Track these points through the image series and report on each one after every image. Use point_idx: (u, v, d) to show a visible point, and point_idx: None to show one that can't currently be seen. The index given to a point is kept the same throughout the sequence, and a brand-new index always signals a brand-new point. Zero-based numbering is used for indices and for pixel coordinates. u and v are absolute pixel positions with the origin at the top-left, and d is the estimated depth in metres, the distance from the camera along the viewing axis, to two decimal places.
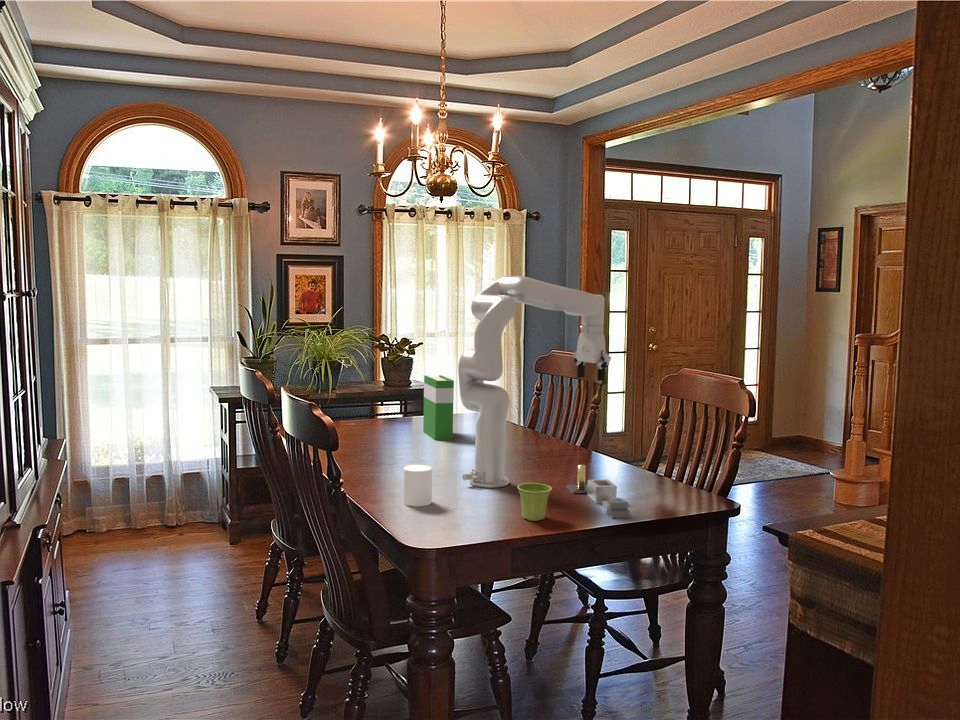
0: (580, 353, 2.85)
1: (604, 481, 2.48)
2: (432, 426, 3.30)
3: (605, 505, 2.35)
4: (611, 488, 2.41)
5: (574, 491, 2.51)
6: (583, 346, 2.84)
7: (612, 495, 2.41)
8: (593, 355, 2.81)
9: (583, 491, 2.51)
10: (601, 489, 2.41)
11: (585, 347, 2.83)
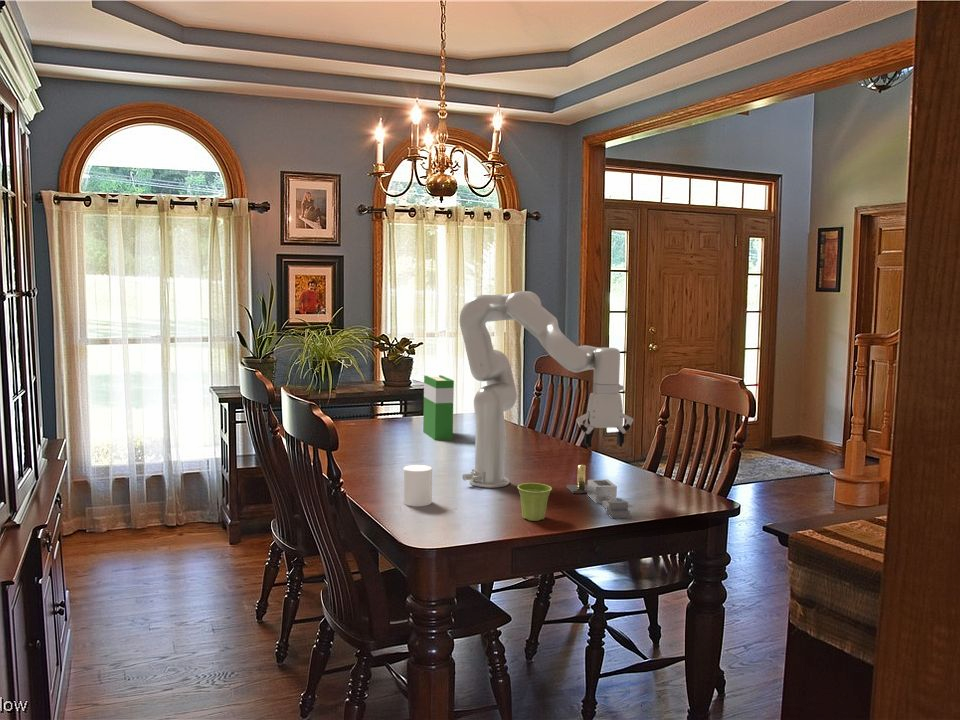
0: None
1: (604, 481, 2.48)
2: (432, 426, 3.30)
3: (605, 505, 2.35)
4: (611, 488, 2.41)
5: (574, 491, 2.51)
6: None
7: (612, 495, 2.41)
8: None
9: (583, 491, 2.51)
10: (601, 489, 2.41)
11: None
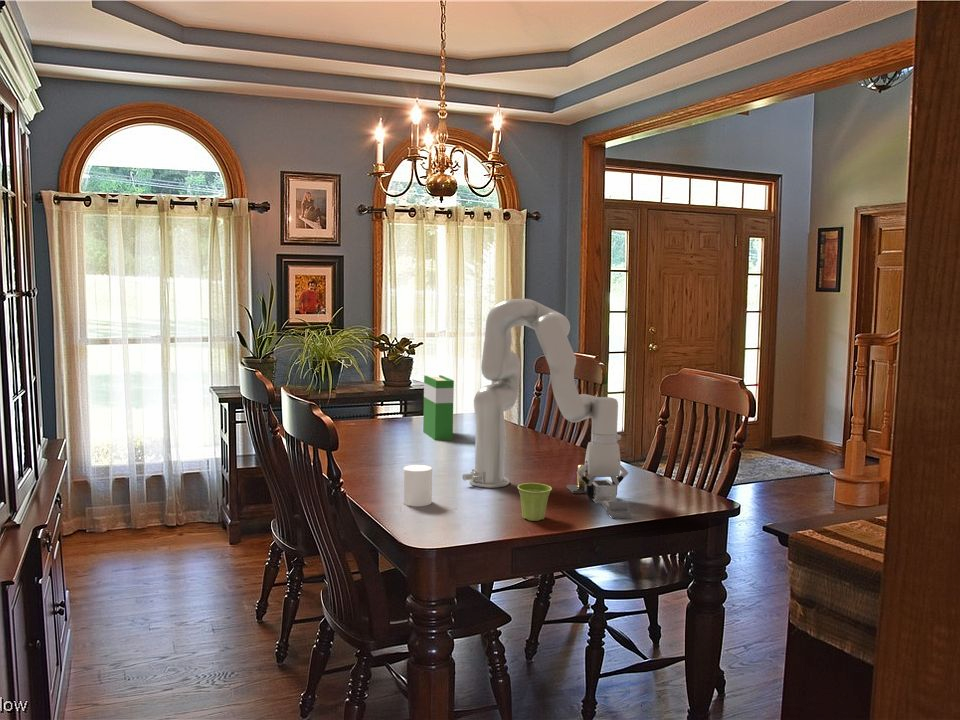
0: None
1: (604, 481, 2.48)
2: (432, 426, 3.30)
3: (605, 505, 2.35)
4: (611, 488, 2.41)
5: (574, 491, 2.51)
6: None
7: (612, 495, 2.41)
8: None
9: (583, 491, 2.51)
10: (601, 489, 2.41)
11: None
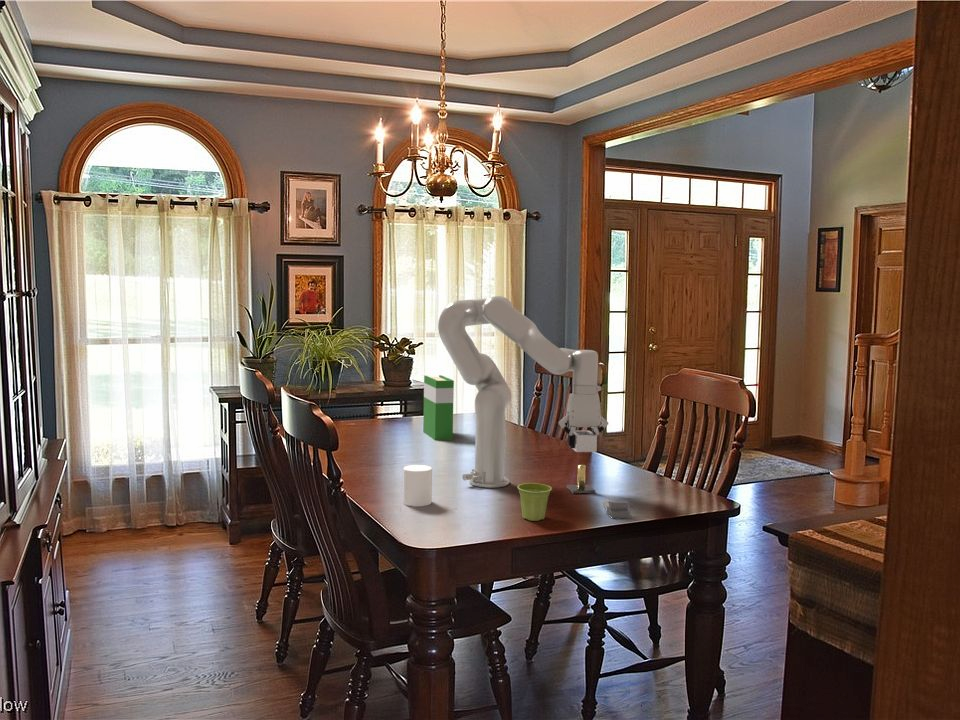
0: None
1: (585, 432, 2.56)
2: (432, 426, 3.30)
3: (605, 505, 2.35)
4: (591, 437, 2.49)
5: (574, 491, 2.51)
6: None
7: (592, 444, 2.49)
8: None
9: (583, 491, 2.51)
10: (582, 438, 2.49)
11: None
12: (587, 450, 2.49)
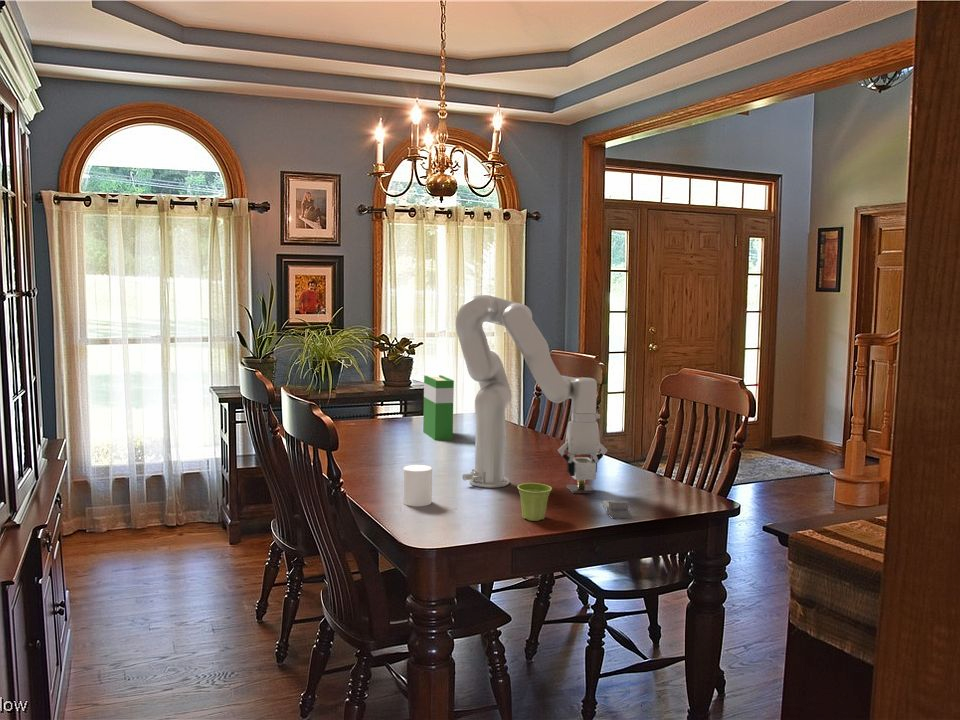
0: None
1: (584, 459, 2.57)
2: (432, 426, 3.30)
3: (605, 505, 2.35)
4: (591, 465, 2.50)
5: (574, 491, 2.51)
6: None
7: (591, 472, 2.50)
8: None
9: (583, 491, 2.51)
10: (581, 466, 2.49)
11: None
12: (586, 478, 2.50)
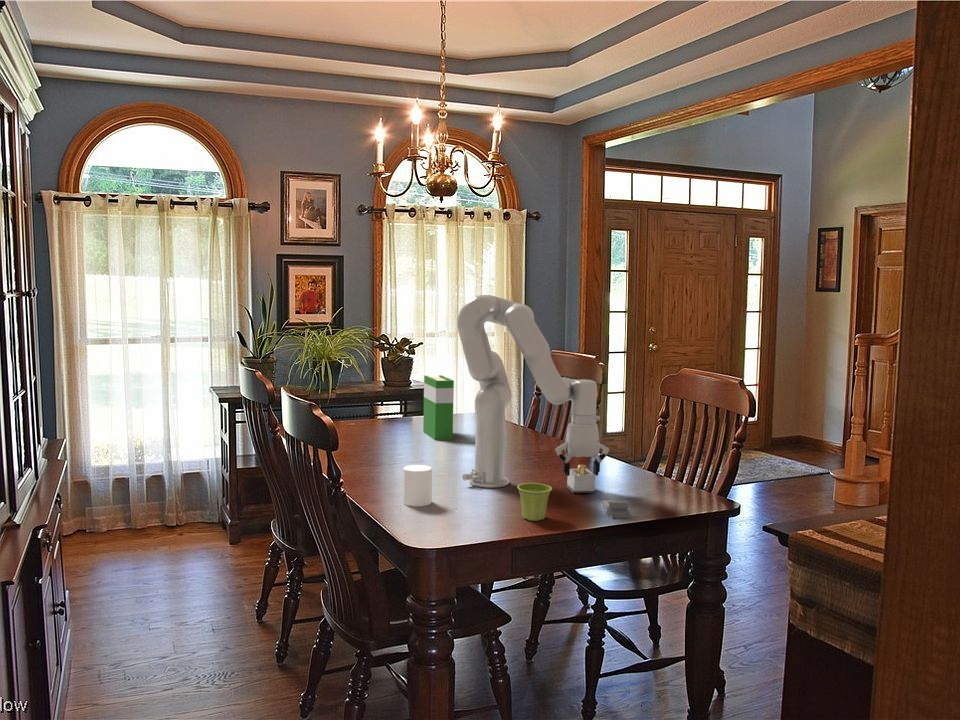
0: None
1: None
2: (432, 426, 3.30)
3: (605, 505, 2.35)
4: (589, 476, 2.50)
5: (574, 491, 2.51)
6: None
7: (590, 483, 2.50)
8: None
9: (583, 491, 2.51)
10: (580, 477, 2.50)
11: None
12: (585, 489, 2.50)
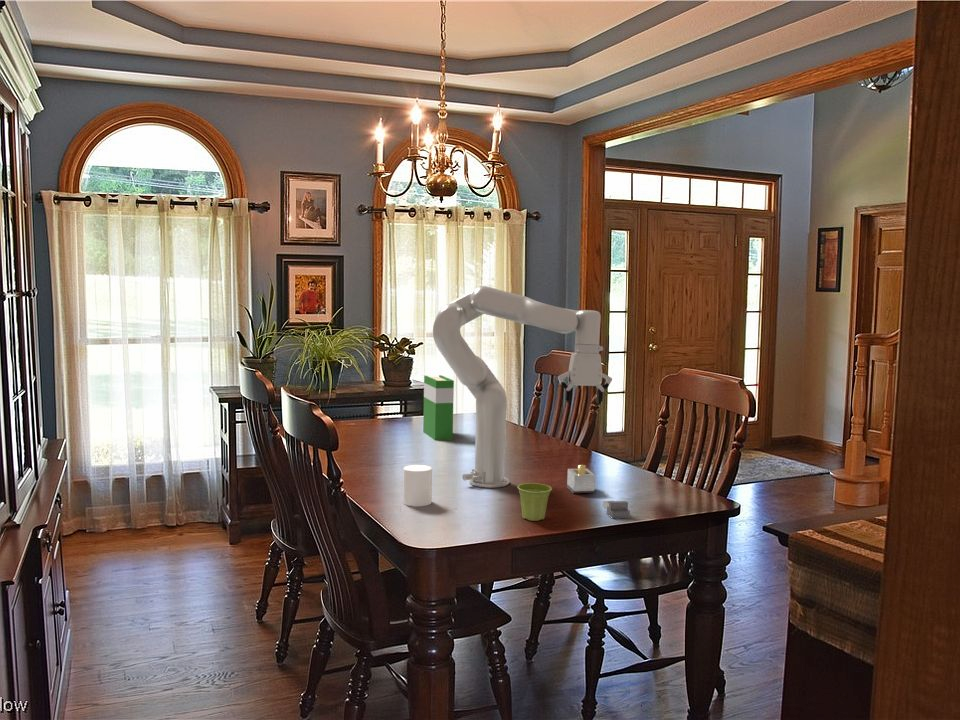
0: None
1: None
2: (432, 426, 3.30)
3: (605, 505, 2.35)
4: (589, 476, 2.50)
5: (574, 491, 2.51)
6: None
7: (590, 483, 2.50)
8: None
9: (583, 491, 2.51)
10: (580, 477, 2.50)
11: None
12: (585, 489, 2.50)
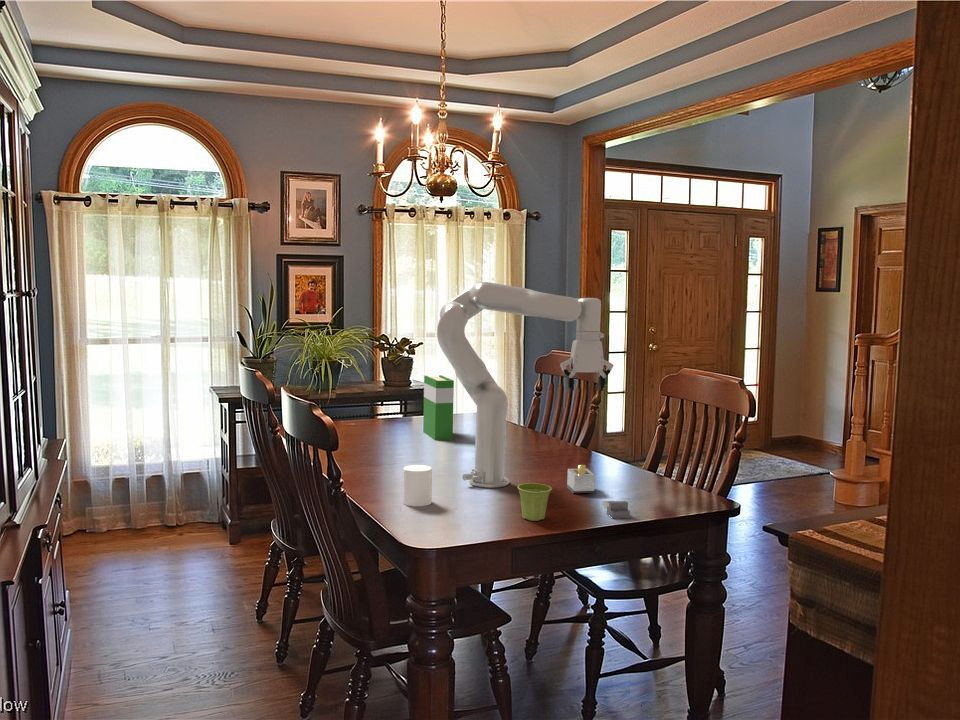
0: None
1: None
2: (432, 426, 3.30)
3: (605, 505, 2.35)
4: (589, 476, 2.50)
5: (574, 491, 2.51)
6: None
7: (590, 483, 2.50)
8: None
9: (583, 491, 2.51)
10: (580, 477, 2.50)
11: None
12: (585, 489, 2.50)
